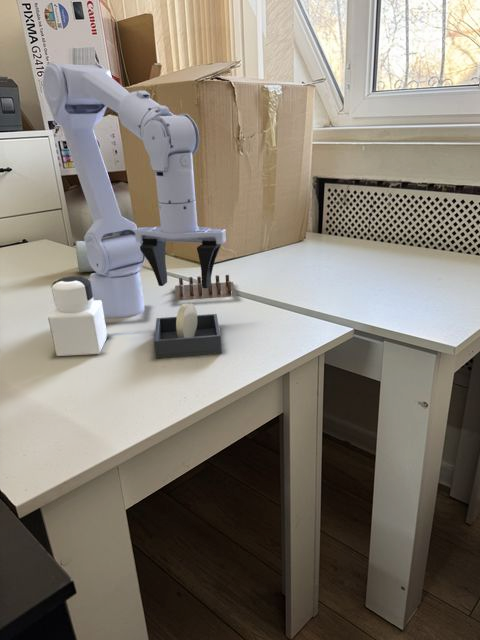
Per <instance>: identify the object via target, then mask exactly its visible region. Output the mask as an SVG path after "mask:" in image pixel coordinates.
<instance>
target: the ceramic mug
mask: <svg viewBox="0 0 480 640" xmlns="http://www.w3.org/2000/svg"><path fill="white" fill-rule="evenodd" d="M75 252H76V261H77V268H78V272H79V273H91V272H95V271H94V270H93V269H92V267H91V266H90V264H89V261H88V258H87V249H86V244H85V240H76V241H75Z"/></svg>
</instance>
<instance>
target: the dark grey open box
mask: <svg viewBox="0 0 480 640" xmlns="http://www.w3.org/2000/svg"><path fill="white" fill-rule="evenodd" d="M176 320H177V316H168V317H167V316H166V317H156V320H155V329H154V337H153V346H154V353H155V354H154V355H155V359H167V358H178V357H179V358H180V357H181V358H182V357H191V356H205V355H216V354H222V353H223V349H222V334H221V329H220V324H219V318H218V313H211V314H197V329H196V333H195V336H194V337H185V338H178V335H177V330H176Z"/></svg>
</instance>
